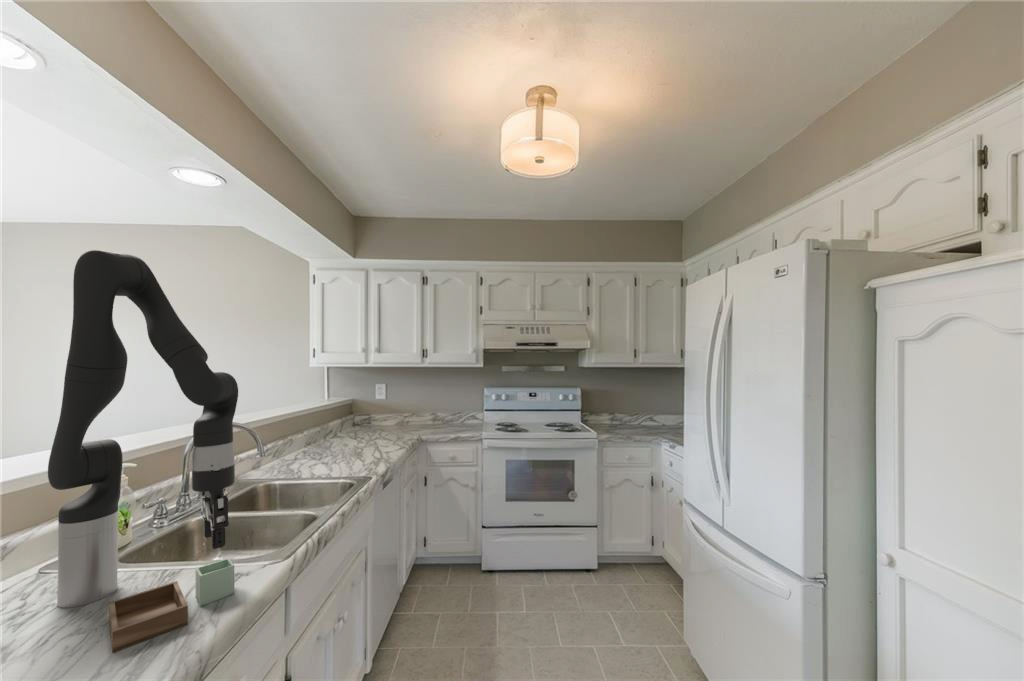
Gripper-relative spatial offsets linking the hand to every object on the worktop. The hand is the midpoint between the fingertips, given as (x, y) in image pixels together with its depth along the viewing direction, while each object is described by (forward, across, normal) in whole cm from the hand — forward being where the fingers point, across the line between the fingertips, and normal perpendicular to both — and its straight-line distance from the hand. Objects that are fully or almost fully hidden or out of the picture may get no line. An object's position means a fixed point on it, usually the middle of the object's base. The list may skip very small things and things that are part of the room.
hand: (214, 541), depth 90 cm
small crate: (+12, -1, 0) cm, 12 cm away
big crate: (+11, +1, -11) cm, 16 cm away
